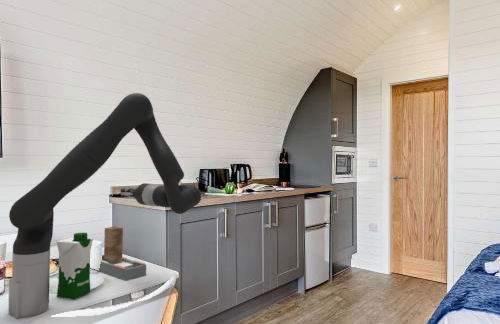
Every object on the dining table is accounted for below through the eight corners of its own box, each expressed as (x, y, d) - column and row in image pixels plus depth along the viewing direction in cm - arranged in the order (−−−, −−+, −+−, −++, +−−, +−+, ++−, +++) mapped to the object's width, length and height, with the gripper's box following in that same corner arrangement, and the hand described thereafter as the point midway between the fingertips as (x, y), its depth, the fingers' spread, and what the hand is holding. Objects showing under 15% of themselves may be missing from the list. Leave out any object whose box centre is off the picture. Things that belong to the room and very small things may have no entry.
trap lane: (125, 281, 128) (125, 269, 128) (88, 267, 144) (88, 257, 144) (146, 275, 136) (146, 263, 136) (108, 263, 151) (109, 253, 151)
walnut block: (110, 265, 138) (111, 229, 138) (104, 262, 141) (104, 228, 141) (122, 262, 142) (122, 227, 142) (115, 260, 145) (115, 226, 145)
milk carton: (75, 301, 109) (76, 236, 109) (51, 297, 111) (53, 234, 111) (94, 291, 117) (96, 231, 117) (72, 288, 120) (73, 230, 120)
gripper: (167, 183, 126) (137, 181, 136) (136, 184, 115) (106, 181, 125) (166, 204, 126) (136, 200, 136) (135, 207, 115) (105, 202, 125)
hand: (122, 191), depth 131 cm, fingers closed
